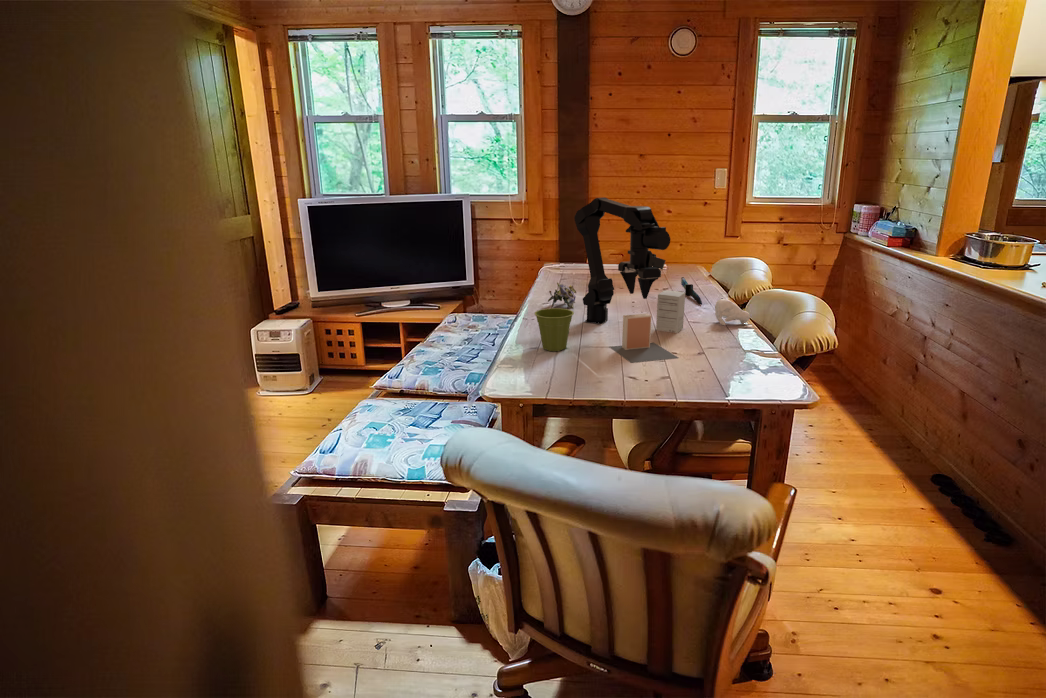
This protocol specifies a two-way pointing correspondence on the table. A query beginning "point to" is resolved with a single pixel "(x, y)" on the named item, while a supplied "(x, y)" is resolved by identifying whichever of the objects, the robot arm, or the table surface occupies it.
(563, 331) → the plant pot
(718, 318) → the white animal figurine
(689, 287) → the knife
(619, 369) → the table surface
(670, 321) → the supplement box
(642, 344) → the white and orange box
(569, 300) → the passion flower
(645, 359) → the mat
